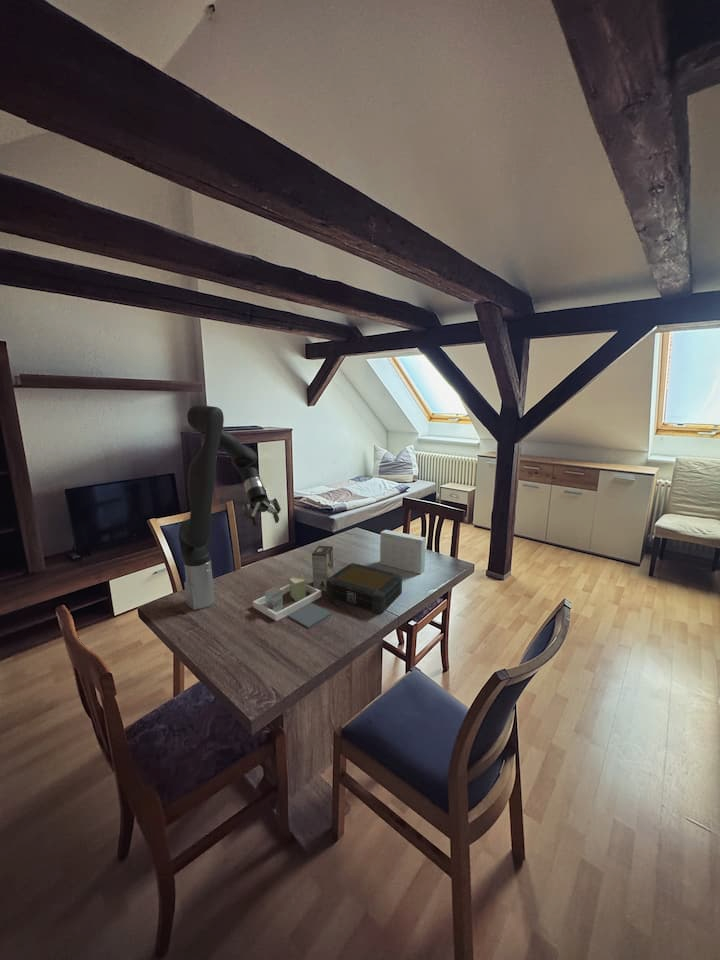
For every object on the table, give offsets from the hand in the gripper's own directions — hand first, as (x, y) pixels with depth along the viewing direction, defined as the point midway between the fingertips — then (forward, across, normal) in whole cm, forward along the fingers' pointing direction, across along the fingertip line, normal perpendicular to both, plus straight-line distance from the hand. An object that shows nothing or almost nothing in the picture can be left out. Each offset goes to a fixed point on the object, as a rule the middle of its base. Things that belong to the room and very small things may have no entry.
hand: (267, 524), depth 151 cm
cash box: (+39, +29, +2) cm, 48 cm away
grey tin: (+31, -5, +9) cm, 32 cm away
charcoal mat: (+39, +4, +1) cm, 39 cm away
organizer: (+30, +2, +10) cm, 31 cm away
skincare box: (+31, +58, +10) cm, 66 cm away
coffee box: (+27, +19, +13) cm, 36 cm away
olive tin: (+29, +6, +11) cm, 31 cm away
